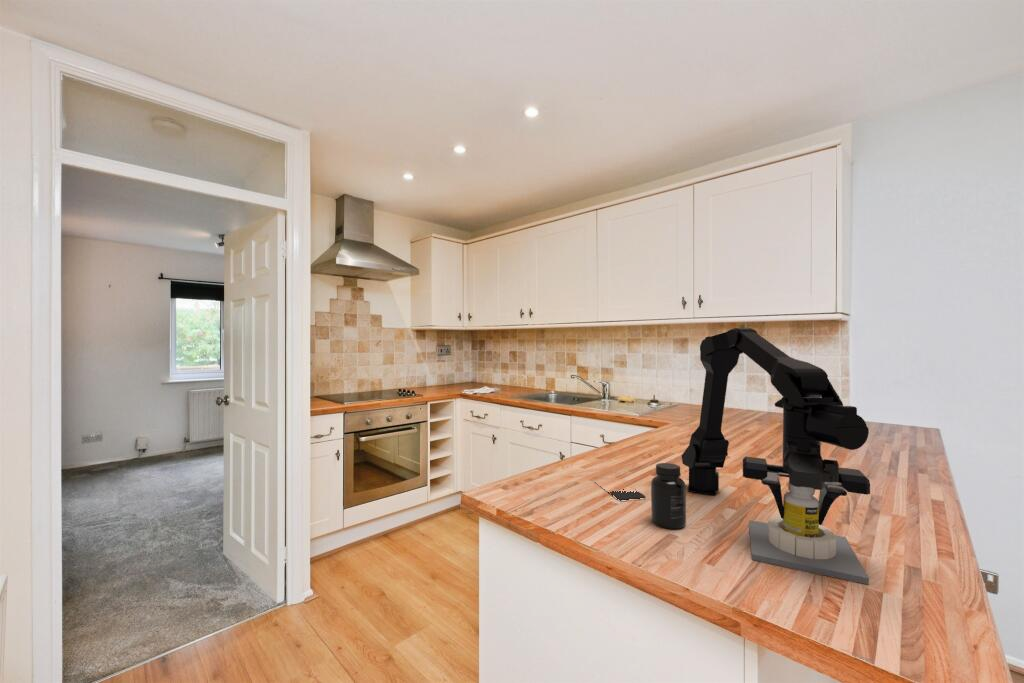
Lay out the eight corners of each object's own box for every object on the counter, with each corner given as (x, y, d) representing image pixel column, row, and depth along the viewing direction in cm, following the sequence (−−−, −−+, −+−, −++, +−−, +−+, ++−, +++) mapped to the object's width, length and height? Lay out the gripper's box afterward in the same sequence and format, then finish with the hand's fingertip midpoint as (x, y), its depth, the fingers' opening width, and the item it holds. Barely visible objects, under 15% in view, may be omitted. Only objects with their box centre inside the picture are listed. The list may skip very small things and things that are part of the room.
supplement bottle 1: (684, 518, 91) (685, 463, 91) (686, 532, 85) (687, 472, 85) (651, 514, 94) (651, 459, 93) (650, 527, 87) (651, 468, 87)
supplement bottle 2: (808, 547, 74) (808, 490, 74) (776, 534, 79) (776, 481, 79) (825, 540, 77) (825, 486, 76) (793, 528, 81) (794, 477, 81)
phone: (617, 478, 117) (647, 497, 103) (617, 481, 117) (647, 500, 103) (592, 480, 115) (619, 499, 101) (592, 483, 115) (619, 503, 101)
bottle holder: (751, 559, 74) (752, 536, 74) (749, 524, 88) (749, 505, 88) (868, 584, 67) (869, 559, 67) (845, 542, 81) (845, 521, 81)
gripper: (743, 438, 75) (743, 527, 75) (880, 452, 66) (879, 552, 66) (742, 427, 85) (742, 505, 85) (861, 437, 76) (860, 525, 76)
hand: (800, 520), depth 78 cm, fingers closed on supplement bottle 2, 5 cm apart
